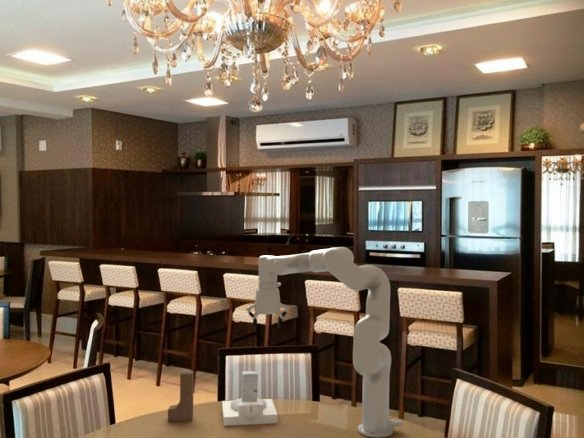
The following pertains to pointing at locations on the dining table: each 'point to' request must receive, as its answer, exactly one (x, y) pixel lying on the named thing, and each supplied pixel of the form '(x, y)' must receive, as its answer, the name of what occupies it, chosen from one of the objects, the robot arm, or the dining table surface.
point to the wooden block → (183, 399)
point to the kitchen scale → (249, 412)
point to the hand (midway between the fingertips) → (267, 328)
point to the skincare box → (249, 386)
